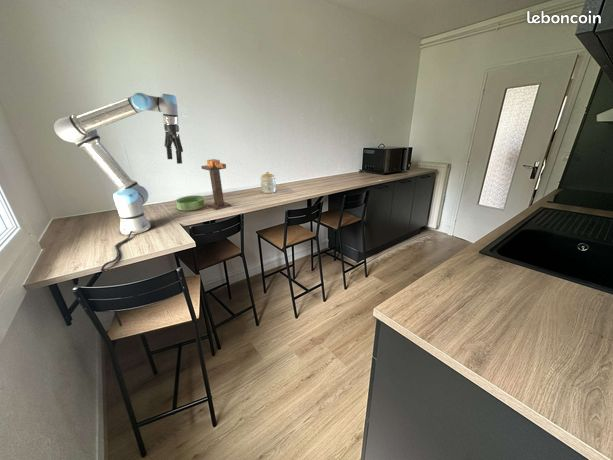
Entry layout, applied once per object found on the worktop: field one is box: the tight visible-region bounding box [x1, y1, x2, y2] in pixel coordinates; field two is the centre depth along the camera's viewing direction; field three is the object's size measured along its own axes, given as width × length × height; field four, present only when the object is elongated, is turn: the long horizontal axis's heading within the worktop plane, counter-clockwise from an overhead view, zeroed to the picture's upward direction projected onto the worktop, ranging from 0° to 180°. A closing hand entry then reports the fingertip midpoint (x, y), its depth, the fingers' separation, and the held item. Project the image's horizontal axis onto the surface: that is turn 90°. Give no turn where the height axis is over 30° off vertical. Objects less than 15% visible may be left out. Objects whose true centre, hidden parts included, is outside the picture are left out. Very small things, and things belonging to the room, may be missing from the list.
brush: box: [206, 158, 227, 169], centre depth 173 cm, size 17×6×4 cm, turn 49°
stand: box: [201, 164, 232, 211], centre depth 183 cm, size 12×12×30 cm
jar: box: [260, 171, 277, 194], centre depth 222 cm, size 13×13×18 cm
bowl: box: [175, 194, 206, 212], centre depth 186 cm, size 20×20×6 cm
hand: (174, 161), depth 154 cm, fingers open, 13 cm apart
